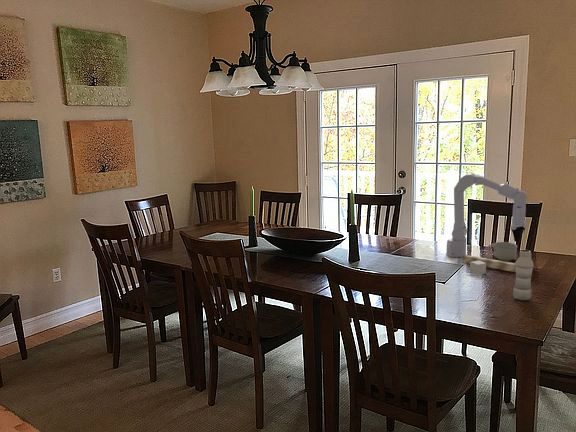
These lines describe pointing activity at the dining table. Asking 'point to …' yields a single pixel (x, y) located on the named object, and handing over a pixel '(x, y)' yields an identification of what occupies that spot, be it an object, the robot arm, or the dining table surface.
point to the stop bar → (490, 263)
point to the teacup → (504, 250)
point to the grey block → (477, 267)
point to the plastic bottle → (523, 276)
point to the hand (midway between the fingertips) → (517, 241)
